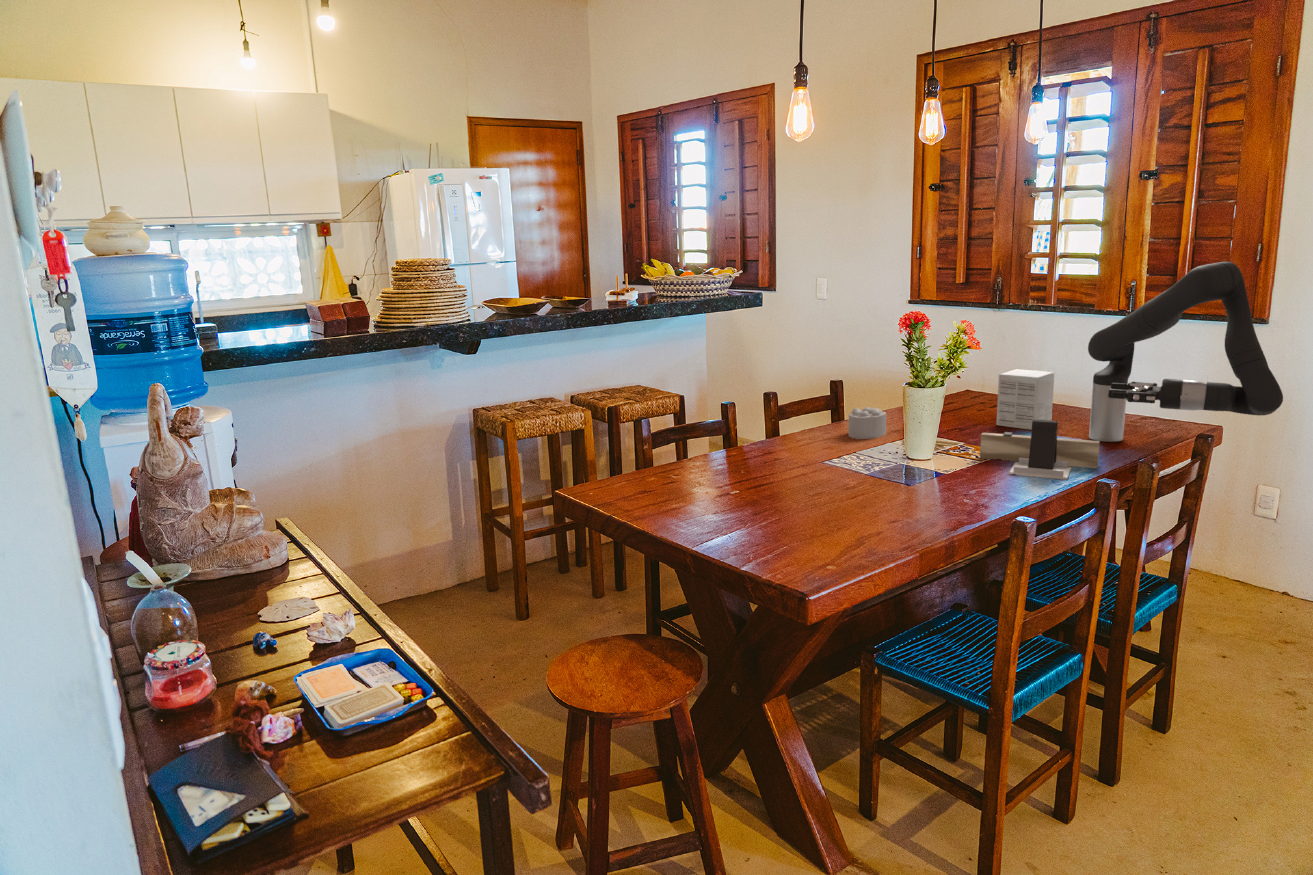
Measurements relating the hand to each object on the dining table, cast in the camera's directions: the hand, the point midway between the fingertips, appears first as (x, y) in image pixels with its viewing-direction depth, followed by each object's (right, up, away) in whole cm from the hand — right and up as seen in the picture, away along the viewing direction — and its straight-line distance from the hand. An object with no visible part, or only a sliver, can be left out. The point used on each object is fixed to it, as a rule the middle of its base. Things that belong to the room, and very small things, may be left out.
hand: (1109, 390), depth 215 cm
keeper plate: (-15, -22, +7) cm, 27 cm away
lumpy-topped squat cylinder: (-49, -12, +57) cm, 76 cm away
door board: (-11, -19, +16) cm, 28 cm away
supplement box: (+5, -8, +61) cm, 62 cm away
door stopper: (-15, -20, +6) cm, 25 cm away
